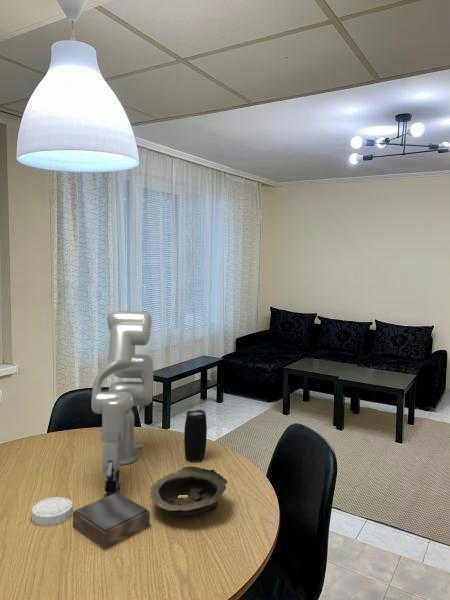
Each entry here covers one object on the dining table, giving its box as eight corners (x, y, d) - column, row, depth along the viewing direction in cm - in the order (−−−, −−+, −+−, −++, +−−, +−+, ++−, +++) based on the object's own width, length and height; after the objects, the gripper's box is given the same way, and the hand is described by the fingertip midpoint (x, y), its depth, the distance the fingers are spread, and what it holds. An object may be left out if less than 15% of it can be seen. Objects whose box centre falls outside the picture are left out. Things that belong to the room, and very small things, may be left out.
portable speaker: (179, 460, 182) (180, 412, 181) (193, 452, 190) (194, 407, 189) (196, 465, 177) (197, 417, 176) (209, 457, 185) (211, 411, 184)
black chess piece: (116, 500, 148) (117, 465, 147) (100, 498, 149) (100, 463, 149) (124, 492, 154) (124, 458, 153) (108, 490, 155) (108, 456, 154)
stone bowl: (235, 496, 154) (236, 470, 152) (209, 542, 130) (209, 512, 129) (170, 481, 162) (170, 457, 160) (134, 522, 138) (134, 494, 137)
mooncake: (31, 509, 142) (31, 498, 141) (71, 503, 146) (71, 492, 146) (31, 530, 131) (31, 518, 130) (74, 522, 135) (74, 510, 135)
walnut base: (117, 506, 145) (117, 491, 145) (149, 525, 134) (149, 509, 134) (72, 526, 133) (72, 510, 132) (104, 549, 122) (104, 531, 122)
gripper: (106, 426, 159) (106, 475, 160) (96, 444, 141) (95, 500, 143) (128, 426, 159) (127, 475, 160) (120, 444, 142) (119, 499, 143)
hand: (112, 486), depth 151 cm, fingers closed on black chess piece, 5 cm apart
